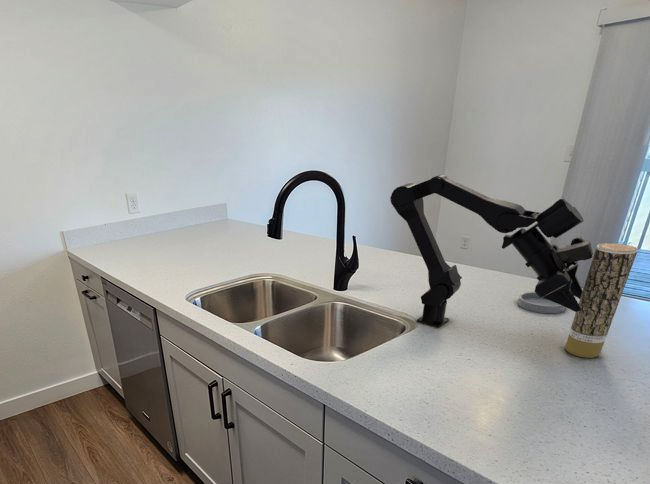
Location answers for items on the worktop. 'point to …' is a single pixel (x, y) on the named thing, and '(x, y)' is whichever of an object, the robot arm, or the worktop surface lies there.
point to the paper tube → (600, 298)
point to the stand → (538, 303)
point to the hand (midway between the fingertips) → (580, 304)
